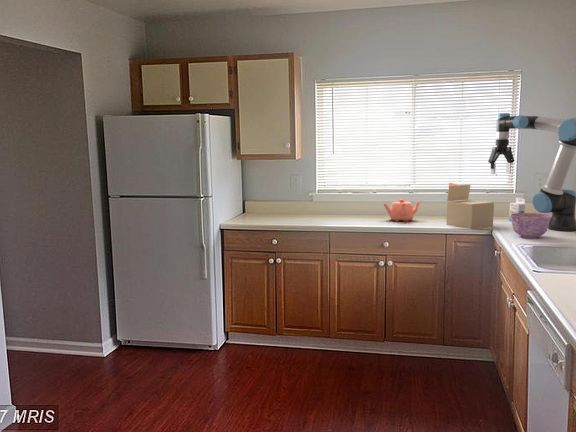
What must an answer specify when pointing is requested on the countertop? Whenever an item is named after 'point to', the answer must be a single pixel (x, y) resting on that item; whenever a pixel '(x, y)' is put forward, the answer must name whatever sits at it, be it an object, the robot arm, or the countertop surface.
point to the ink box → (517, 207)
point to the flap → (458, 192)
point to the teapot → (402, 210)
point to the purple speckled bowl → (530, 224)
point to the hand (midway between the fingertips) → (500, 173)
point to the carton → (470, 214)
